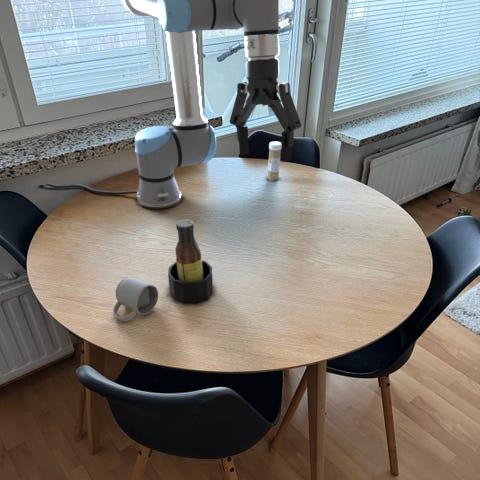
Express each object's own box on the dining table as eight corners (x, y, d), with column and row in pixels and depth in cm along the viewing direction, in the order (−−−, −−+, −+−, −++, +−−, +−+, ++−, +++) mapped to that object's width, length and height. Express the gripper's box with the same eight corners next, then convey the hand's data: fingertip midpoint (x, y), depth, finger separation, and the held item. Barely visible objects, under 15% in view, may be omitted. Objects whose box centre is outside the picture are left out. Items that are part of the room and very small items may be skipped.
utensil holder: (162, 296, 113) (159, 275, 108) (185, 274, 120) (183, 254, 116) (198, 309, 109) (197, 288, 105) (220, 285, 116) (219, 265, 112)
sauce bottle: (208, 287, 116) (205, 220, 103) (196, 301, 111) (192, 232, 98) (186, 281, 118) (181, 214, 105) (174, 294, 113) (167, 225, 100)
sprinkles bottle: (266, 175, 171) (269, 140, 162) (278, 176, 171) (281, 141, 162) (267, 180, 168) (269, 145, 159) (279, 181, 168) (282, 145, 159)
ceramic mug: (136, 293, 113) (131, 268, 108) (160, 304, 110) (156, 279, 105) (106, 315, 107) (99, 291, 102) (131, 328, 103) (125, 303, 98)
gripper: (210, 60, 102) (218, 155, 114) (297, 58, 88) (296, 167, 99) (232, 58, 107) (238, 149, 118) (318, 55, 92) (315, 159, 104)
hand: (264, 157), depth 109 cm, fingers open, 13 cm apart
